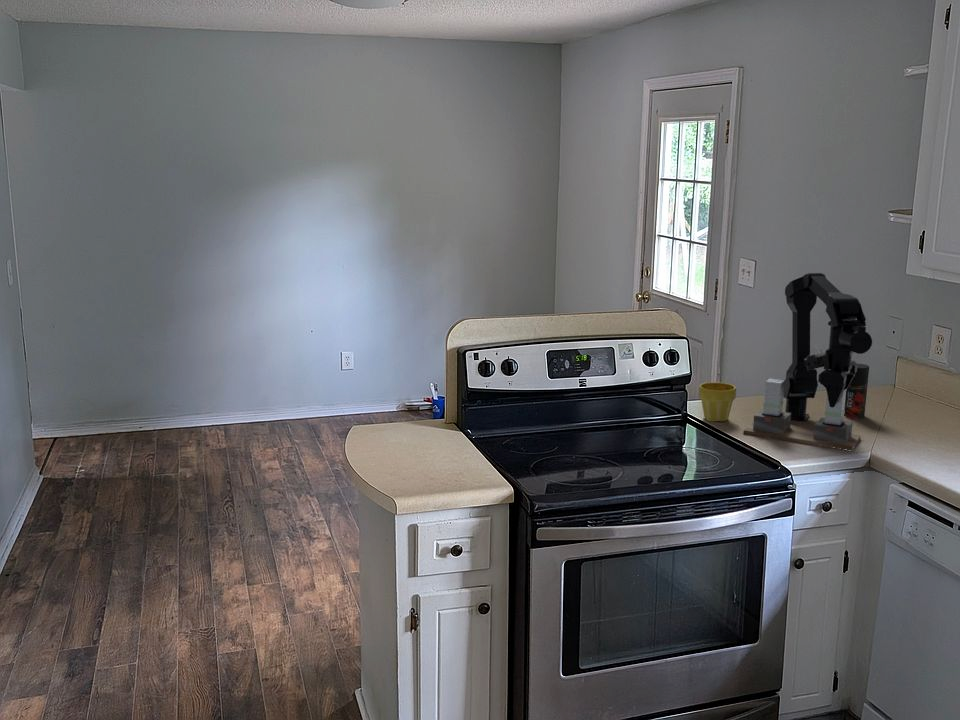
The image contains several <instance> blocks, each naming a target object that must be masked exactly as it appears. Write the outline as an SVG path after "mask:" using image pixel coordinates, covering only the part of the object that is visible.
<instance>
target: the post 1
mask: <svg viewBox="0 0 960 720" xmlns="http://www.w3.org/2000/svg"><path fill="white" fill-rule="evenodd" d="M784 383H785V379H776V378H768V379H767V380H766V381H765V385H764V386H765V389H764V400H763V401H764V402H763V409H764V414H766V415H773V416H779V415H780V414H781V413H782V412H783V407H784V397H783V395H784Z"/></svg>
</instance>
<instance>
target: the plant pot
mask: <svg viewBox="0 0 960 720" xmlns="http://www.w3.org/2000/svg"><path fill="white" fill-rule="evenodd" d="M736 396H737V387H736V386H735V385H733V384H732V383H727V382H717V381H716V382H714V381H713V382H703V383H701V384H699V386H698V397H699V398H700V399H701V404H702V410H703V412H702V413H703V418H704V417H705V418H706V419H708V420H711V421H710V422H713V421H724V422H727V421H728V420H729V418H730V417H729V416H730V413H731V411H732V406H733V402H734V400H735V399H736ZM705 418H704V419H705ZM706 419H705V420H706ZM708 420H707V421H708ZM726 420H727V421H726Z"/></svg>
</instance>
